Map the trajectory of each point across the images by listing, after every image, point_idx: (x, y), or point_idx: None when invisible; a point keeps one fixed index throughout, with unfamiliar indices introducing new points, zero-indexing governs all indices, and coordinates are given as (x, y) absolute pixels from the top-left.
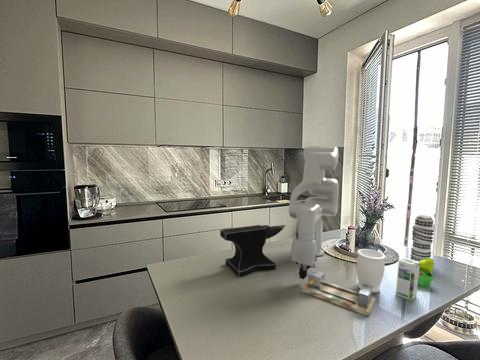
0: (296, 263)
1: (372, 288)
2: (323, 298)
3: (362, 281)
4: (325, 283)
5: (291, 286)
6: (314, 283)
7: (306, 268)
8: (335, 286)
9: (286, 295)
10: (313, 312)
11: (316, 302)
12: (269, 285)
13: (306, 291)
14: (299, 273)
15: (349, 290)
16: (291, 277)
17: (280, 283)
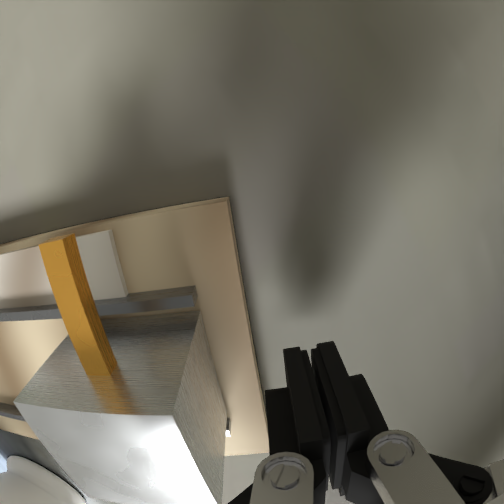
0: (470, 473)
1: (8, 470)
2: (19, 240)
3: (17, 490)
4: None
5: (355, 204)
6: (111, 345)
7: (254, 498)
8: None
9: (285, 13)
10: (7, 33)
11: (30, 149)
12: (486, 77)
13: (157, 211)
14: (360, 387)
15: (18, 425)
16: (423, 346)
17: (455, 174)
